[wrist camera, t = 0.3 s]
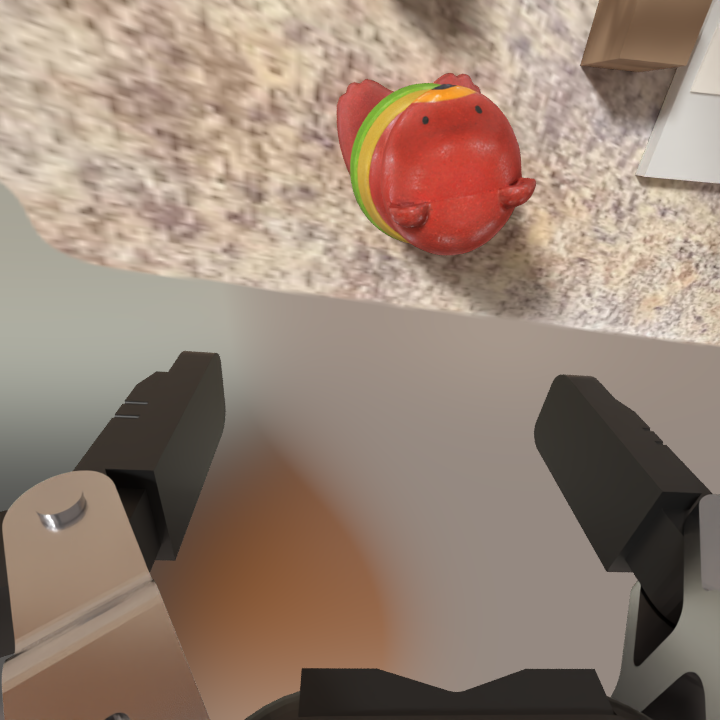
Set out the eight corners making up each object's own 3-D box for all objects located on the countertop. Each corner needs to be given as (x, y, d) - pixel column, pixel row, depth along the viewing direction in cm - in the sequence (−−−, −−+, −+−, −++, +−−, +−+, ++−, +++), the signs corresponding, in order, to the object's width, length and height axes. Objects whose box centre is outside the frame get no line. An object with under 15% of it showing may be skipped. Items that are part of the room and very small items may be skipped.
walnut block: (603, -16, 28) (651, -39, 23) (666, -8, 28) (724, -30, 24) (579, 65, 30) (619, 58, 26) (638, 72, 30) (686, 65, 26)
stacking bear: (481, 70, 30) (624, 28, 15) (471, 214, 35) (568, 293, 20) (333, 82, 30) (323, 52, 15) (345, 224, 35) (346, 309, 20)
